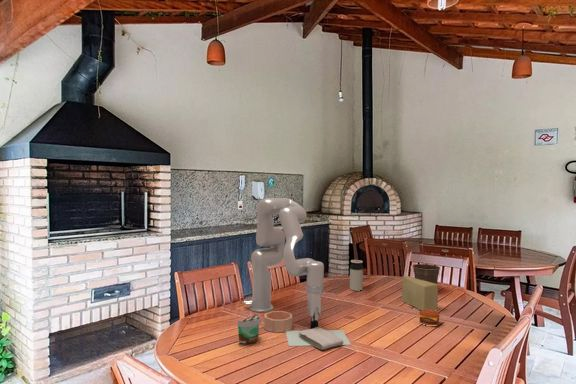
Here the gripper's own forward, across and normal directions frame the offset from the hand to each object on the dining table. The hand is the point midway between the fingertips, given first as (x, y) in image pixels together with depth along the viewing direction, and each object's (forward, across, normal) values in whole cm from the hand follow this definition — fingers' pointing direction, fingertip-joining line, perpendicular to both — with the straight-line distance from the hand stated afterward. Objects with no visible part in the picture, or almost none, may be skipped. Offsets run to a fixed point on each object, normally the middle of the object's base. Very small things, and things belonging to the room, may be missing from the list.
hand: (314, 329), depth 181 cm
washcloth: (+1, +12, +1) cm, 12 cm away
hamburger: (+1, -7, +57) cm, 57 cm away
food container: (+1, +11, -28) cm, 30 cm away
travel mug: (+1, -67, +37) cm, 77 cm away
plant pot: (+1, -60, +79) cm, 99 cm away
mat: (+1, +8, 0) cm, 8 cm away
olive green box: (+1, -33, +62) cm, 70 cm away
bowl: (+1, -5, -16) cm, 17 cm away
